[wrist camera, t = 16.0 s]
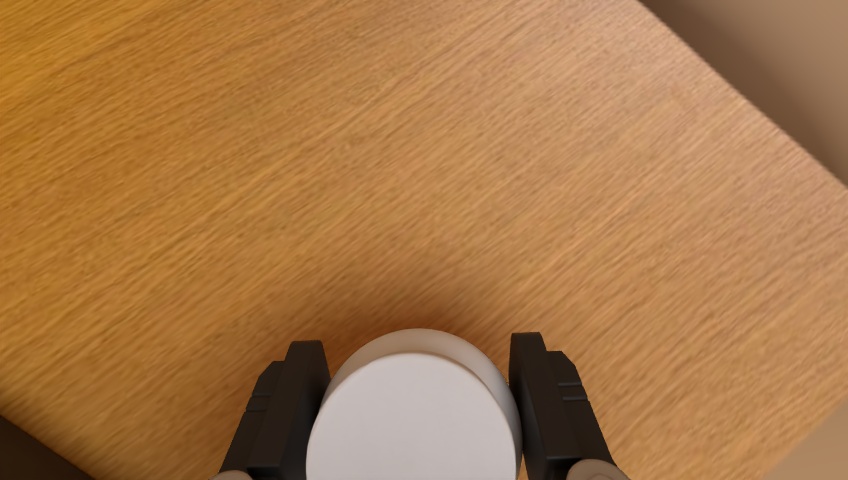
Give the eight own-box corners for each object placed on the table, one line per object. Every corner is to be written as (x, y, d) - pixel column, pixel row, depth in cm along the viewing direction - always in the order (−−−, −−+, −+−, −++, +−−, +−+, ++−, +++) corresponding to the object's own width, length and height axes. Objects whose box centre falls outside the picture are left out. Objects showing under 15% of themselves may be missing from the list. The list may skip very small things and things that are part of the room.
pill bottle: (511, 456, 16) (599, 587, 7) (377, 496, 16) (303, 680, 7) (470, 318, 17) (501, 290, 9) (345, 354, 17) (248, 363, 8)
